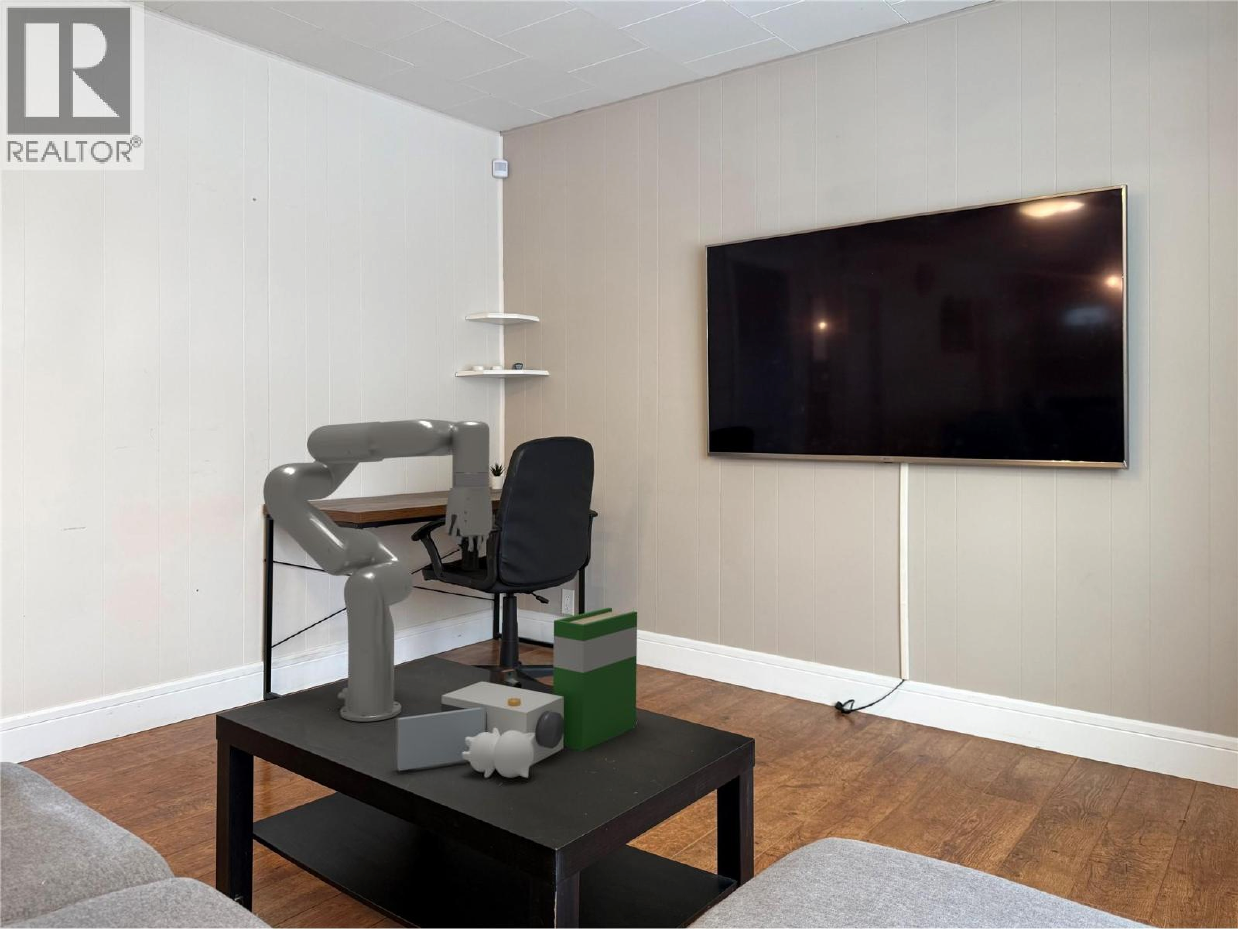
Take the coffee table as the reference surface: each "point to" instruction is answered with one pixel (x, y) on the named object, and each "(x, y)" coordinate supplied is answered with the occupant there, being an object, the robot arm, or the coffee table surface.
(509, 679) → the electronic device
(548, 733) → the white rectangular box
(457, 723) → the side door
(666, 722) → the coffee table surface
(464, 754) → the cat figurine
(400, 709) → the robot arm
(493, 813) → the coffee table surface
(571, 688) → the hardback book
